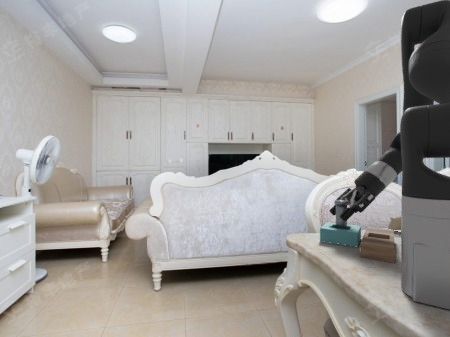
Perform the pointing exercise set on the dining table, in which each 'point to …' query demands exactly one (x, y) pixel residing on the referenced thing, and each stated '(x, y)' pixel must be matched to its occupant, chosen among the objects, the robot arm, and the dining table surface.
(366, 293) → the dining table surface
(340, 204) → the axle
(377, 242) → the beam
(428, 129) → the robot arm
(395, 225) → the decorative ornament
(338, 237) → the holder
